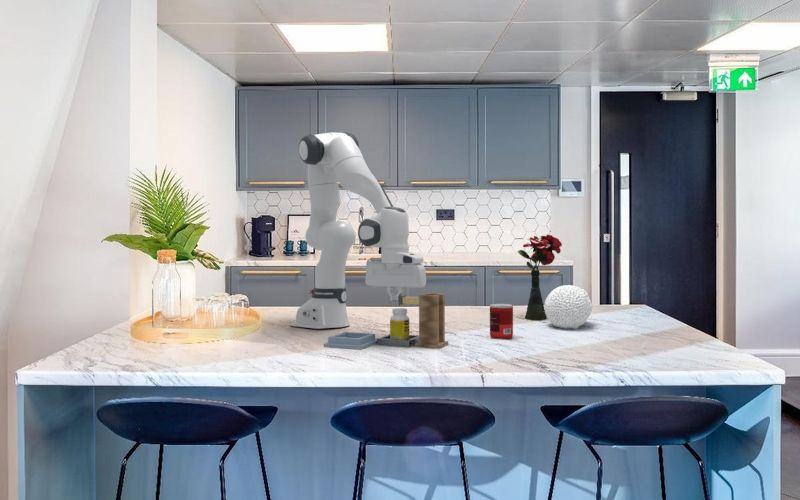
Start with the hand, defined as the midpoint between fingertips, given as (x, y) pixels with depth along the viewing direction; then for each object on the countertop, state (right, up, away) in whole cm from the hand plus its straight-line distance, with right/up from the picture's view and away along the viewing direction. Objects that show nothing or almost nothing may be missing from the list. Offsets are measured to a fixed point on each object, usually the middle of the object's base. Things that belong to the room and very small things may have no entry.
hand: (395, 301), depth 194 cm
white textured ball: (+63, -13, +31) cm, 72 cm away
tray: (-14, -14, -1) cm, 19 cm away
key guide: (+11, -14, -4) cm, 18 cm away
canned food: (+36, -14, +12) cm, 40 cm away
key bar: (+7, -1, -2) cm, 7 cm away
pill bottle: (+1, -14, +1) cm, 14 cm away
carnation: (+57, -13, +49) cm, 76 cm away
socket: (+1, -14, +1) cm, 14 cm away
